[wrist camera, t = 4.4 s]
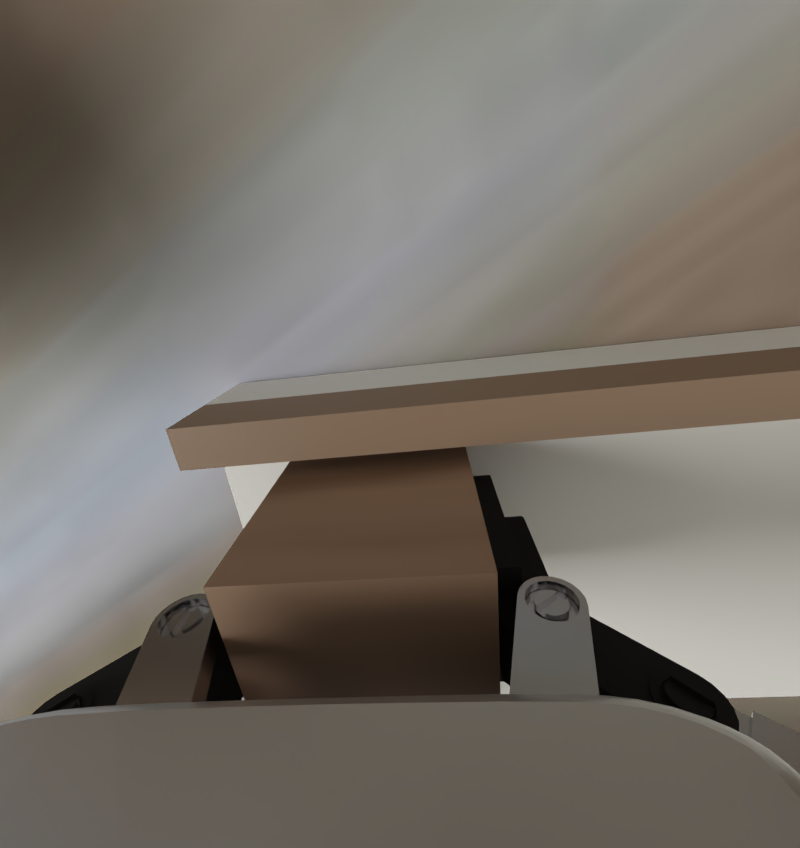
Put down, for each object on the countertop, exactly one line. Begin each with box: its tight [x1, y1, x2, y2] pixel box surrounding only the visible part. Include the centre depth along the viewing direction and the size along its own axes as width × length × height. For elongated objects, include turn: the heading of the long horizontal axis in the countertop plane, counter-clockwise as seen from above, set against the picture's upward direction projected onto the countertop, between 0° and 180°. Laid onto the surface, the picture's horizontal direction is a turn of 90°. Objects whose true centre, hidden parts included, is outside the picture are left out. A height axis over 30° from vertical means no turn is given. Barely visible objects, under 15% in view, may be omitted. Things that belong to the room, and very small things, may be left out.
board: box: [166, 326, 800, 698], centre depth 14 cm, size 14×26×4 cm, turn 96°
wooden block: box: [203, 447, 500, 700], centre depth 11 cm, size 11×5×6 cm, turn 6°
